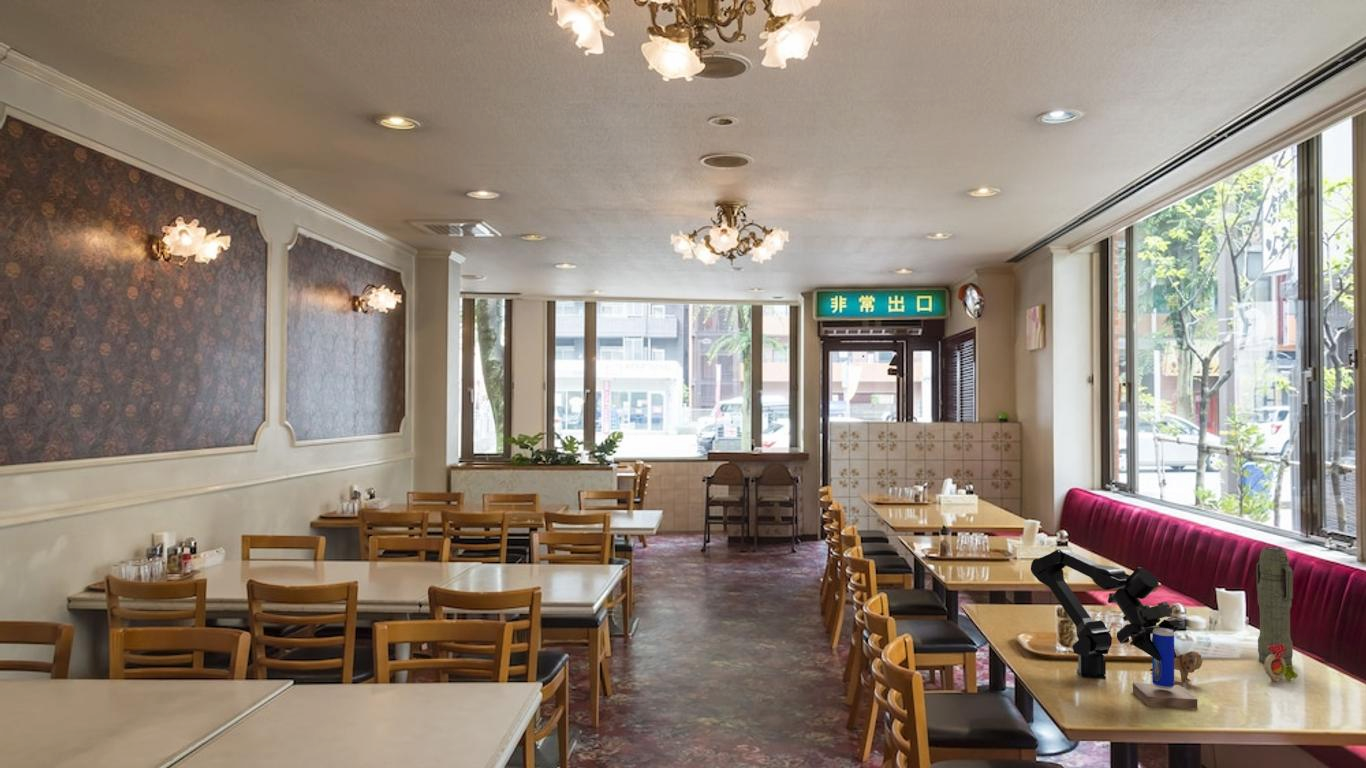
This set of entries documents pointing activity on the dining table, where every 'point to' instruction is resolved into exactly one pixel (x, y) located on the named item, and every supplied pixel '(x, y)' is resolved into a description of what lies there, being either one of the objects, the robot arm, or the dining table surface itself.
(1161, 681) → the beverage can
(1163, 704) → the walnut base board
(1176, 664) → the lion figurine
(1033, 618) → the dining table surface
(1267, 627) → the grey-green panelled tower
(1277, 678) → the bird rattle
